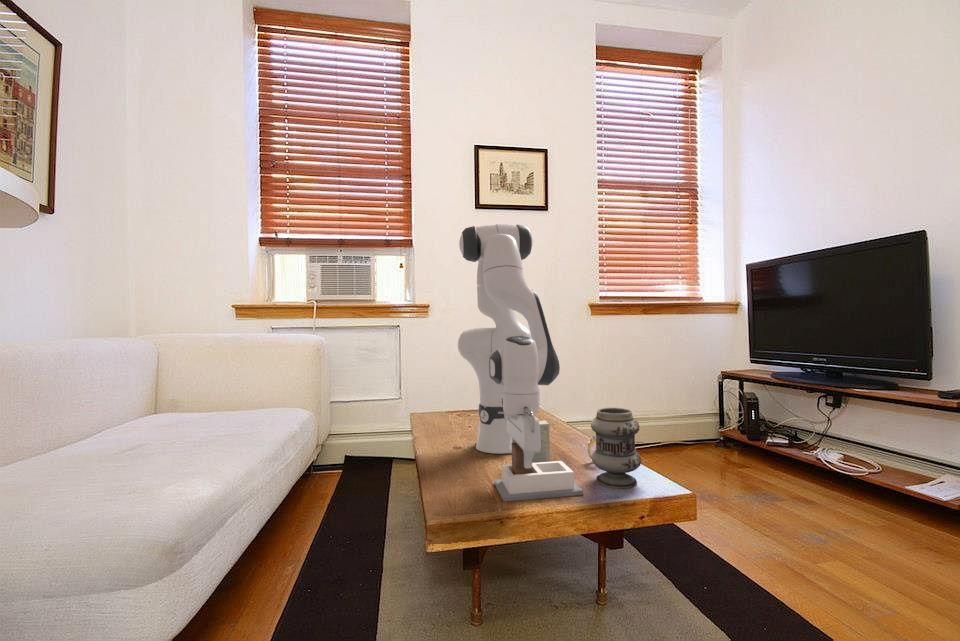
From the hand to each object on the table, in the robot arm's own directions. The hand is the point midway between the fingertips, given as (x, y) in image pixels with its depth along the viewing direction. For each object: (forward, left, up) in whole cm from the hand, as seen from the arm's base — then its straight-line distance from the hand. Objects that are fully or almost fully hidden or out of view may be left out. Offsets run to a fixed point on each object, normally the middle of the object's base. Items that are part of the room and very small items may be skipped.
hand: (522, 460), depth 103 cm
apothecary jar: (-21, +13, -7) cm, 26 cm away
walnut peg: (0, 0, -6) cm, 6 cm away
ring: (-31, +2, -7) cm, 32 cm away
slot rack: (-3, +2, -7) cm, 8 cm away
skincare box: (-17, -9, -7) cm, 21 cm away
